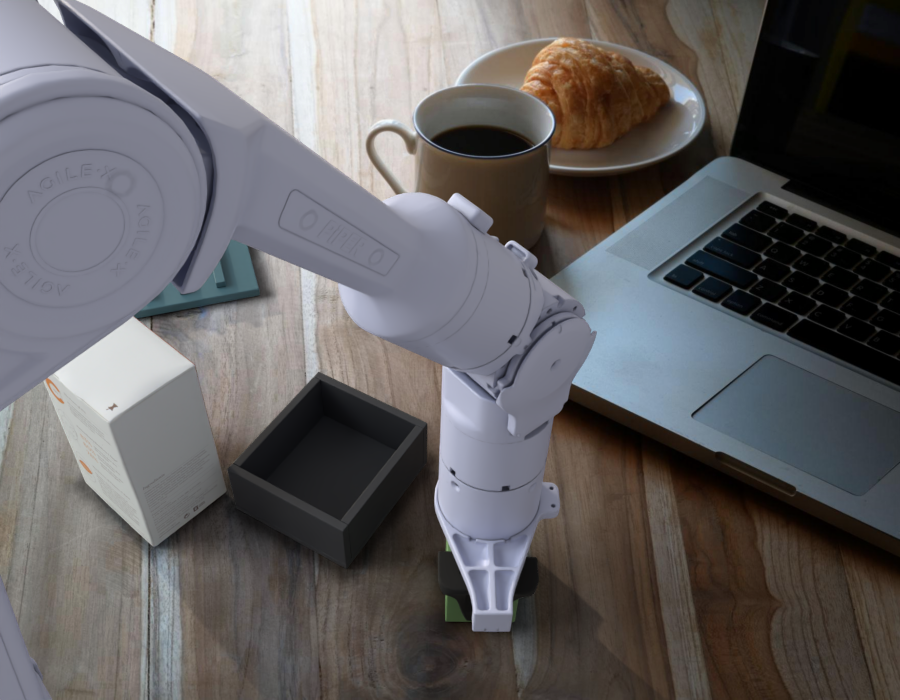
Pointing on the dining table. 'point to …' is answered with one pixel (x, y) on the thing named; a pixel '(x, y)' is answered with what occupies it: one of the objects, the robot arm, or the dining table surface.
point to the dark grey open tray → (330, 468)
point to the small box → (140, 429)
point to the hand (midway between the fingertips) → (480, 580)
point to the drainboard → (212, 285)
